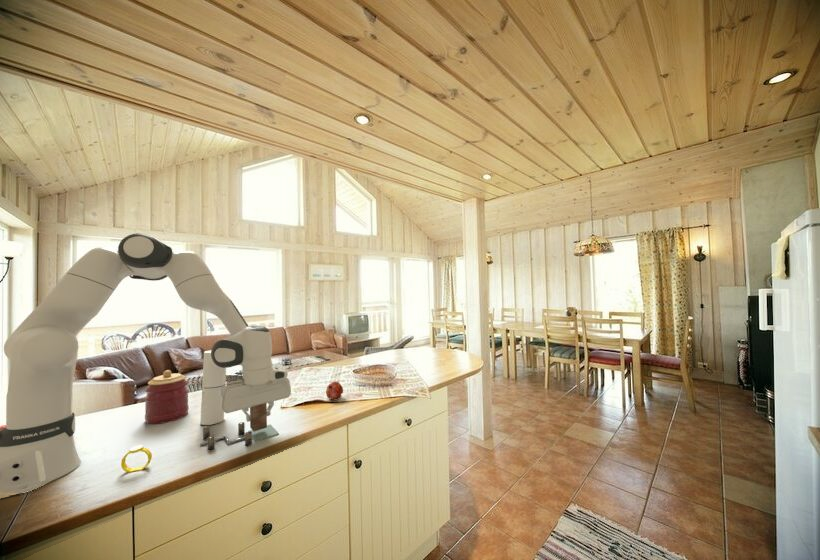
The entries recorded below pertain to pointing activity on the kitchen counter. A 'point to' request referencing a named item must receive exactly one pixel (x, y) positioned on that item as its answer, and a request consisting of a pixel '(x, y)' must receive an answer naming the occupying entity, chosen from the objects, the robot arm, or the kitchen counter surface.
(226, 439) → the wire
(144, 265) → the robot arm
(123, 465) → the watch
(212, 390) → the cylindrical container
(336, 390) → the pomegranate
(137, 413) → the kitchen counter surface
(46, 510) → the kitchen counter surface
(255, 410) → the block
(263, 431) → the mat
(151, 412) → the canister
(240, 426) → the gates
